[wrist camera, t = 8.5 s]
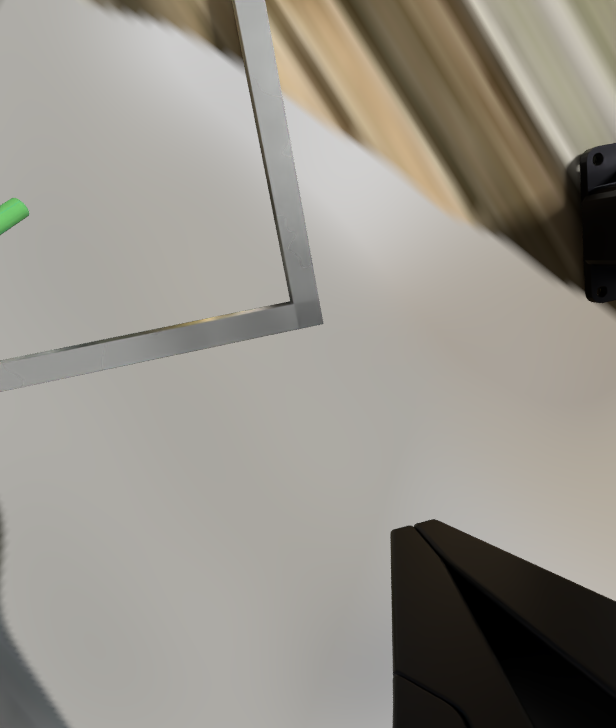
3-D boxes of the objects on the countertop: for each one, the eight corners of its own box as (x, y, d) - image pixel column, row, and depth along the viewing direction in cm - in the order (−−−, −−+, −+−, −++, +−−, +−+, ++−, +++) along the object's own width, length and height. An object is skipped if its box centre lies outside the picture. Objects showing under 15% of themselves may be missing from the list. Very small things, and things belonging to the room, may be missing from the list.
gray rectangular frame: (239, -109, 16) (240, -138, 15) (318, 320, 19) (323, 323, 18) (-353, -41, 14) (-406, -69, 13) (-145, 416, 18) (-172, 428, 16)
